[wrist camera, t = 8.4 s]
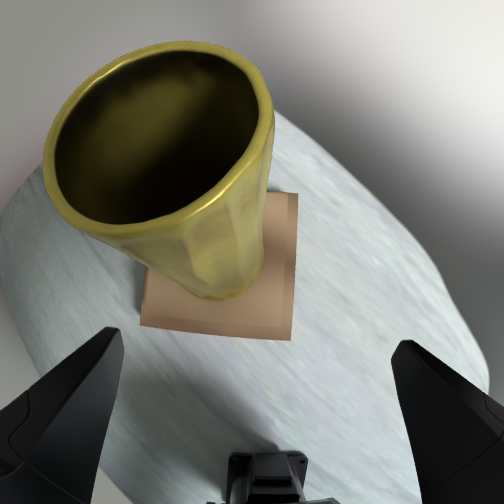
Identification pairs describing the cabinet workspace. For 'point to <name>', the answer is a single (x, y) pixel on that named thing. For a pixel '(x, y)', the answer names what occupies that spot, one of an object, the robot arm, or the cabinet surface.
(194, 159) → the vase
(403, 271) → the cabinet surface
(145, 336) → the cabinet surface
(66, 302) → the cabinet surface
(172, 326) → the pedestal
